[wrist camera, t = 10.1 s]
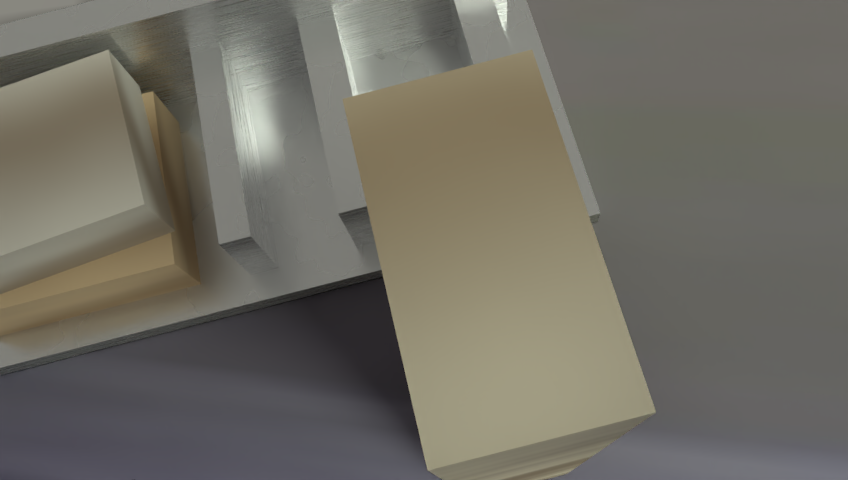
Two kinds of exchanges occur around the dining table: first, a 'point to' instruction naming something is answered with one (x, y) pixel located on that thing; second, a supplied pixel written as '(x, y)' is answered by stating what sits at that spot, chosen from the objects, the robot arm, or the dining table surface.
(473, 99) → the beige wooden block
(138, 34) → the offcut rack
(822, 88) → the dining table surface
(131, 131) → the offcut pile
